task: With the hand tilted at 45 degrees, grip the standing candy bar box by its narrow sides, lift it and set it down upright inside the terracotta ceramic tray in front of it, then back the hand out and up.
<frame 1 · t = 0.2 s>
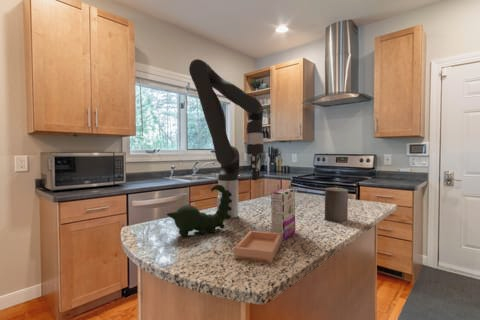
hand: (256, 179, 119), 18 cm above the worktop, tool pointing down, fingers open, 8 cm apart
pillar candle: (336, 220, 117), on the worktop
toy figurine: (200, 233, 99), on the worktop
terracotta tray: (259, 249, 82), on the worktop
candy bar box: (283, 236, 96), on the worktop
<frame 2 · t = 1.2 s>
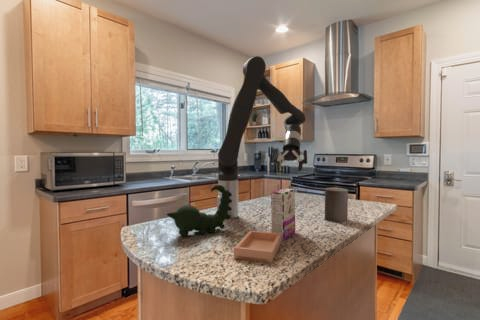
hand: (288, 170, 109), 23 cm above the worktop, tool tilted 45°, fingers open, 8 cm apart
nothing on the worktop moved.
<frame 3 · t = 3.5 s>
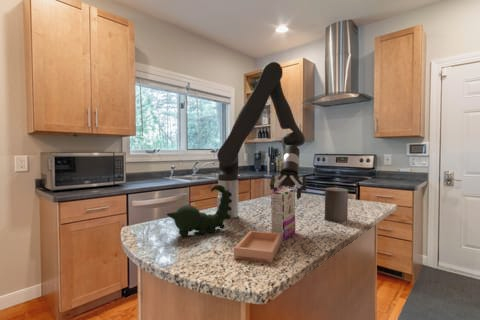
hand: (286, 197, 102), 13 cm above the worktop, tool tilted 45°, fingers open, 8 cm apart
nothing on the worktop moved.
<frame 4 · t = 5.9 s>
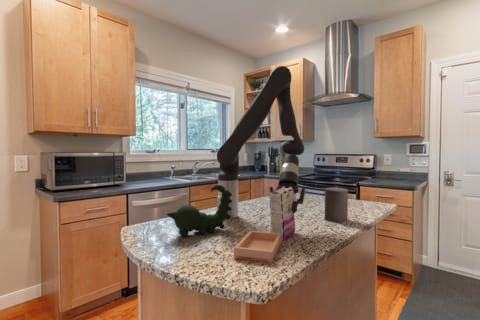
hand: (284, 211, 97), 8 cm above the worktop, tool tilted 45°, fingers closed on candy bar box, 6 cm apart
candy bar box: (283, 235, 96), on the worktop, touching gripper
everything else where it was.
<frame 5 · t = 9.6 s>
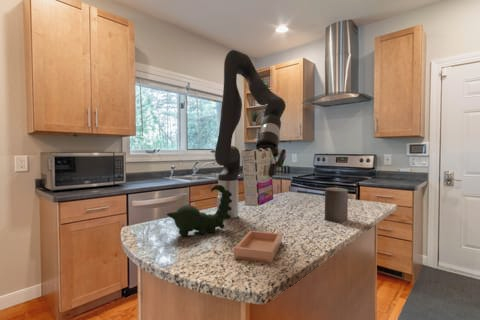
hand: (261, 175, 83), 23 cm above the worktop, tool tilted 45°, fingers closed on candy bar box, 5 cm apart
candy bar box: (259, 203, 81), point 15 cm above the worktop, touching gripper
everything else where it was.
when the fingers open (10 cm above the worktop, at t = 13.5 s): candy bar box drops 1 cm, resting on terracotta tray.
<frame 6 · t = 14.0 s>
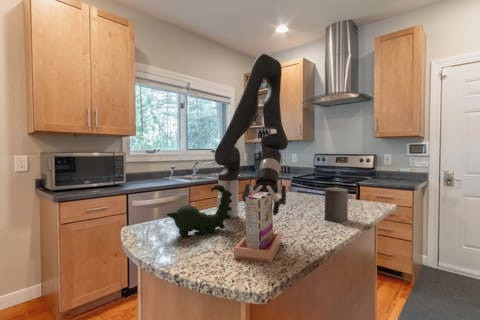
hand: (261, 213, 84), 11 cm above the worktop, tool tilted 45°, fingers open, 8 cm apart
candy bar box: (259, 247, 82), point 1 cm above the worktop, touching terracotta tray
everything else where it was.
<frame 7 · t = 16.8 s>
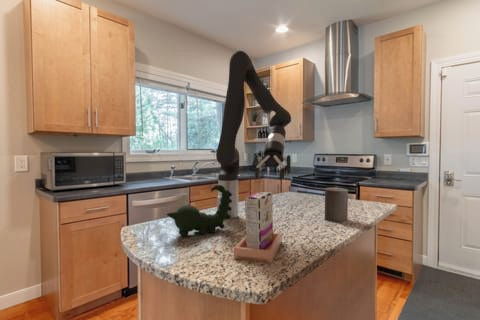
hand: (268, 178, 95), 21 cm above the worktop, tool tilted 45°, fingers open, 8 cm apart
nothing on the worktop moved.
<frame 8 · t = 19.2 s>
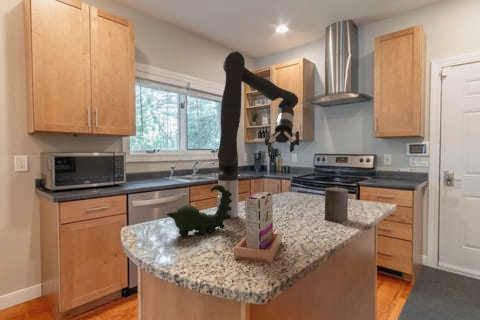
hand: (280, 150, 107), 31 cm above the worktop, tool tilted 45°, fingers open, 8 cm apart
nothing on the worktop moved.
at the end: candy bar box inside the target area on the terracotta tray (0.2 cm from its centre), point 0.6 cm above the terracotta tray's base; candy bar box tilted 0°; the gripper is holding nothing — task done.
